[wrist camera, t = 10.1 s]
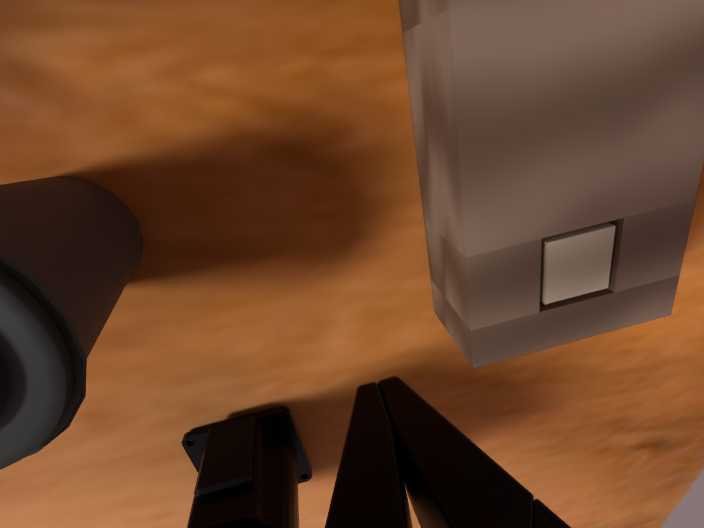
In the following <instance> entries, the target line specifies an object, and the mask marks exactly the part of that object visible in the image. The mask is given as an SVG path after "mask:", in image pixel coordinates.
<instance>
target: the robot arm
mask: <svg viewBox="0 0 704 528" xmlns="http://www.w3.org/2000/svg"><path fill="white" fill-rule="evenodd" d="M280 415H284V416H280ZM191 440H193V441H191ZM182 446H183V447H184V449H185V451H186V453H187V454H188V456H189V458H190V460H191V461H192V463H193V465H194V467H195V468H196V470H197V472H198V478H197V482H196V487H195V491H194V499H193V503H192V508H191V512H190V517H189V521H188V525H187V528H299V510H298V484H299V483H302V482H306V481H308V480H310V479H311V477H312V470H311V466H310V464H309V461H308V458H307V456H306V453H305V450H304V447H303V445H302V442H301V439H300V437H299V434H298V431H297V428H296V426H295V423H294V420H293V418H292V415H291V412H290V410H289V409H288V408H286V407H279V408H276V409H272V410H268V411H265V412H261V413H257V414H253V415H250V416H246V417H242V418H239V419H235V420H231V421H227V422H224V423H220V424H216V425H213V426H209V427H205V428H201V429H198V430H194V431H190V432H188V433H186V434H185V435H184V437H183V441H182ZM405 487H406V489H405ZM406 490H407V493H408V496H409V499H410V501H411V504H412V507H413V509H414V512H415V514H416V516H417V519H418V521H419V524H420V526H421V528H571V527H570V526H569V525H567V524H566V523H565V522H564V521H563V520H561V519H560V518H559V517H558V516H557V515H556V514H555V513H553V512H552V511H551V510H550V509H549V508H548V507H547V506H545V505H544V504H543V503H542V502H541V501H540V500H538V499H535V500H534V496H533V495H532V494H531V493H530V492H529V491H528V490H527V489H526V488H525V487H523V486H522V485H521V484H520V483H519V482H518V481H517V480H515V479H514V478H513V477H512V476H511V475H510V474H509V473H507V472H506V471H505V470H504V469H503V468H502V467H501V466H499V465H498V464H497V463H496V462H495V461H494V460H493V459H491V458H490V457H489V456H488V455H487V454H486V453H485V452H483V451H482V450H481V449H480V448H479V447H478V446H477V445H475V444H474V443H473V442H472V441H471V440H470V439H469V438H467V437H466V436H465V435H464V434H463V433H462V432H461V431H459V430H458V429H457V428H456V427H455V426H454V425H453V424H451V423H450V422H449V421H448V420H447V419H446V418H445V417H443V416H442V415H441V414H440V413H439V412H438V411H437V410H435V409H434V408H433V407H432V406H431V405H430V404H429V403H427V402H426V401H425V400H424V399H423V398H422V397H421V396H419V395H418V394H417V393H416V392H415V391H414V390H413V389H411V388H410V387H409V386H408V385H407V384H406V383H405V382H403V381H402V380H401V379H400V378H399V377H397V376H393V377H390V378H386V379H382V380H380V381H379V382H378V383H377V382H371V383H367V384H364V385H360V386H359V387H358V388H357V391H356V396H355V400H354V404H353V409H352V413H351V417H350V421H349V426H348V430H347V434H346V439H345V443H344V447H343V452H342V456H341V460H340V465H339V469H338V473H337V478H336V482H335V486H334V491H333V495H332V499H331V504H330V508H329V512H328V517H327V521H326V525H325V528H413V526H412V521H411V515H410V509H409V503H408V498H407V493H406Z"/></svg>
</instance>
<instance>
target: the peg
mask: <svg viewBox="0 0 704 528" xmlns="http://www.w3.org/2000/svg"><path fill="white" fill-rule="evenodd" d="M614 235H615V225H612V224H610V223H607V222H605V223H601V224H597V225H593V226H589V227H585V228H581V229H577V230H573V231H569V232H565V233H561V234H557V235H554V236H550V237H546V238H542V240H541V273H540V301H541V302H543V303H544V304H549V303H553V302H556V301H560V300H564V299H568V298H572V297H575V296H579V295H583V294H587V293H590V292H594V291H598V290H602V289H606V288H608V284H609V275H610V267H611V259H612V251H613V243H614Z"/></svg>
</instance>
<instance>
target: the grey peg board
mask: <svg viewBox="0 0 704 528" xmlns="http://www.w3.org/2000/svg"><path fill="white" fill-rule="evenodd" d="M399 6H400V15H401V23H402V32H403V41H404V49H405V58H406V67H407V76H408V84H409V93H410V102H411V110H412V119H413V128H414V136H415V145H416V154H417V162H418V171H419V180H420V188H421V197H422V206H423V214H424V223H425V232H426V240H427V249H428V258H429V266H430V275H431V284H432V292H433V301H434V310H435V313H436V315H437V316H438V318H439V319H440V321H441V322H442V324H443V325H444V326H445V328H446V329H447V331H448V332H449V334H450V335H451V337H452V338H453V340H454V341H455V343H456V344H457V346H458V347H459V348H460V350H461V351H462V353H463V354H464V356H465V357H466V359H467V360H468V362H469V363H470V365H471V366H472V368H473V369H474V368H478V367H482V366H485V365H489V364H493V363H496V362H500V361H504V360H507V359H511V358H515V357H518V356H522V355H526V354H529V353H533V352H537V351H540V350H544V349H548V348H551V347H555V346H559V345H563V344H566V343H570V342H574V341H577V340H581V339H585V338H588V337H592V336H596V335H599V334H603V333H607V332H610V331H614V330H618V329H621V328H625V327H629V326H632V325H636V324H640V323H643V322H647V321H651V320H654V319H658V318H662V317H666V316H669V315H671V312H672V308H673V303H674V298H675V294H676V289H677V285H678V280H679V275H680V271H681V266H682V261H683V257H684V252H685V247H686V243H687V238H688V233H689V229H690V224H691V219H692V215H693V210H694V206H695V201H696V196H697V192H698V187H699V182H700V178H701V173H702V168H703V164H704V0H399ZM605 222H607V223H610V224H612V225H615V235H614V243H613V251H612V259H611V267H610V275H609V284H608V288H606V289H602V290H598V291H594V292H590V293H587V294H583V295H579V296H575V297H572V298H568V299H564V300H560V301H556V302H553V303H549V304H544V303H543V302H541V301H540V273H541V240H542V238H546V237H550V236H554V235H557V234H561V233H565V232H569V231H573V230H577V229H581V228H585V227H589V226H593V225H597V224H601V223H605Z"/></svg>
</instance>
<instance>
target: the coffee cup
mask: <svg viewBox="0 0 704 528" xmlns="http://www.w3.org/2000/svg"><path fill="white" fill-rule="evenodd" d="M142 241H143V239H142V236H141V232H140V228H139V225H138V222H137V220H136V219H135V217H134V216H133V214H132V213H131V211H130V210H129V208H128V207H127V206H126V205H125V204H124V203H123V202H122V201H121V200H120V199H118V198H117V197H116V196H115V195H114V194H113V193H112V192H110V191H108V190H106V189H104V188H102V187H100V186H98V185H96V184H94V183H92V182H90V181H86V180H81V179H77V178H72V177H54V178H43V179H36V180H30V181H23V182H17V183H10V184H3V185H0V469H3V468H5V467H7V466H9V465H11V464H13V463H15V462H17V461H19V460H21V459H22V458H24V457H27V456H29V455H32V454H34V453H37V452H38V451H40V450H41V449H42V448H44V447H45V446H46V445H47V444H49V443H50V442H51V441H52V440H53V439H55V438H56V437H57V436H58V435H60V434H61V433H62V432H63V431H65V430H66V429H67V428H68V427H69V426H70V424H71V422H72V420H73V418H74V416H75V415H76V413H77V411H78V409H79V407H80V405H81V403H82V401H83V400H84V398H85V395H86V364H87V357H88V355H89V353H90V352H91V350H92V348H93V346H94V344H95V342H96V340H97V338H98V336H99V335H100V333H101V331H102V329H103V327H104V325H105V323H106V321H107V319H108V318H109V316H110V314H111V312H112V310H113V308H114V306H115V304H116V303H117V301H118V299H119V297H120V295H121V293H122V291H123V289H124V287H125V286H126V284H127V282H128V280H129V278H130V276H131V274H132V272H133V270H134V269H135V267H136V265H137V263H138V261H139V259H140V257H141V252H142Z"/></svg>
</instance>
